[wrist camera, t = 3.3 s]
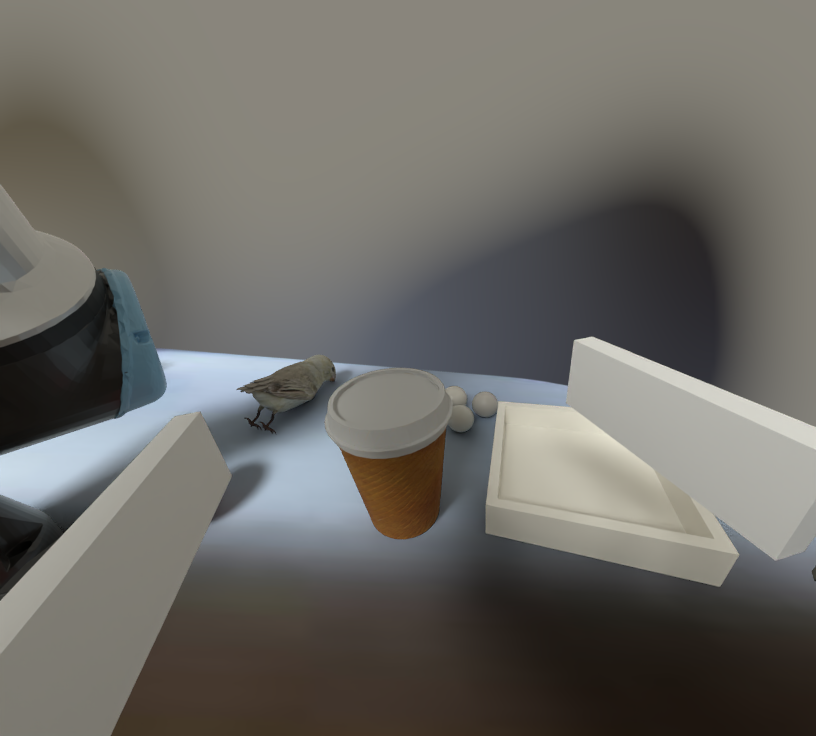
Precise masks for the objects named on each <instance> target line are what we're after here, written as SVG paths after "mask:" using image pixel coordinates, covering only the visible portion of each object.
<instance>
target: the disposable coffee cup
mask: <svg viewBox="0 0 816 736" xmlns="http://www.w3.org/2000/svg"><path fill="white" fill-rule="evenodd" d="M452 409H453V406H452V400H451V398H450V396H449V395H448V393H447V392H446V391H445V388H444V385H443V383H442V382H441V381H440V380H439V379H438V378H437V377H436V376H434V375H433V374H430V373H428V372H425V371H422V370H418V369H413V368H389V369H381V370H376V371H372V372H368V373H365V374H362V375H360V376H357V377H355V378H353V379H351V380H349V381H347V382H346V383H344V384H343V385H341V386H340V387H339V388H337V389H336V390H335V391H334V393H333V394H332V395H331V397H330V399H329V402H328V412H327V414H326V417H325V429H326V431H327V433H328V436H329V437H330V438H331V439H332V440H333V441H334V442H335V443H336V444H337V446H338V447H339V448H340V450H341V451H342V452H341V453H342V454H343V456H344V459H345V461H346V463H347V466H348V468H349V470H350V473H351V474H352V477H353V479H354V481H355V483H356V486H357V488H358V490H359V493H360V495H361V497H362V499H363V502H364V504H365V506H366V508H367V511H368V513H369V515H370V517H371V520H372V522H373V524H374V526H375V527H376V529H377V530H378V531H379V532H381V533H382V534H383V535H385V536H387V537H390V538H394V539H409V538H414V537H416V536H419V535H421V534H423V533H424V532H426V531H427V530H428V529H429V528H430V527H431V526H432V525H433V524H434V523H435V521H436V518H437V516H438V514H439V506H440V496H441V484H442V472H443V460H444V448H445V436H446V427H447V425H448V422H449V420H450V418H451V416H452Z"/></svg>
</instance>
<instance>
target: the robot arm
mask: <svg viewBox="0 0 816 736" xmlns="http://www.w3.org/2000/svg"><path fill="white" fill-rule="evenodd" d="M166 387H167V383H166V378H165V375H164V372H163V368H162V365H161V363H160V360H159V357H158V354H157V351H156V348H155V346H154V343H153V341H152V338H151V336H150V332H149V329H148V327H147V324H146V320H145V318H144V315H143V312H142V309H141V307H140V304H139V302H138V299H137V296H136V294H135V291H134V289H133V286H132V284H131V281H130V279H129V277H128V275H127V274H126V273H124V272H123V271H120V270H109V269H106V268H102V269H99V270H96V269H95V267H94V266H93V264H92V262H91V261H90V260H89V259H88V257H87V256H86V255H85V254H84V253H83V252H82V251H81V250H80V249H79V248H78V247H76V246H74V245H73V244H71V243H70V242H67V241H65V240H63V239H61V238H58V237H55V236H53V235H50V234H47V233H44V232H40V231H37V230H34V229H33V228H32V226H31V225H30V223H29V222H28V221H27V219H26V218H25V217H24V215H23V214H22V213H21V211H20V210H19V209H18V207H17V206H16V204H15V203H14V202H13V200H12V199H11V198H10V196H9V195H8V194H7V192H6V191H5V190H4V188H3V187H2V185H1V184H0V455H3V454H6V453H9V452H12V451H15V450H18V449H22V448H25V447H28V446H31V445H34V444H37V443H40V442H43V441H46V440H49V439H52V438H55V437H58V436H61V435H64V434H67V433H70V432H74V431H77V430H80V429H83V428H86V427H89V426H92V425H95V424H98V423H101V422H104V421H107V420H110V419H113V418H114V419H116V418H120V417H122V416H123V415H124V414H125V413H127V412H129V411H132V410H134V409H137V408H140V407H142V406H145V405H147V404H150V403H152V402H155V401H157V400H158V399H159V398H161V397H162V395H163V394H164V393H165V390H166ZM566 403H567V404H568V405H569V406H571V407H572V408H573V409H575V410H576V411H577V412H579V413H580V414H581V415H583V416H584V417H585V418H587V419H588V420H589V421H591V422H592V423H593V424H595V425H596V426H597V427H599V428H600V429H601V430H603V431H604V432H605V433H606V434H608V435H609V436H610V437H612V438H613V439H614V440H616V441H617V442H618V443H620V444H621V445H622V446H624V447H625V448H626V449H628V450H629V451H630V452H632V453H633V454H634V455H636V456H637V457H638V458H640V459H641V460H642V461H644V462H645V463H646V464H648V465H649V466H650V467H652V468H653V469H654V470H656V471H657V472H658V473H660V474H661V475H662V476H664V477H665V478H666V479H668V480H669V481H670V482H672V483H673V484H674V485H676V486H677V487H678V488H680V489H681V490H682V491H684V492H685V493H686V494H687V495H689V496H690V497H691V498H693V499H694V500H695V501H697V502H698V503H699V504H701V505H702V506H703V507H705V508H706V509H707V510H709V511H710V512H711V513H713V514H714V515H715V516H717V517H718V518H719V519H721V520H722V521H723V522H725V523H726V524H727V525H729V526H730V527H731V528H733V529H734V530H735V531H737V532H738V533H739V534H741V535H742V536H743V537H745V538H746V539H747V540H749V541H750V542H751V543H753V544H754V545H755V546H757V547H758V548H759V549H761V550H762V551H763V552H765V553H766V554H767V555H769V556H770V557H771V558H772V559H774V560H775V561H776V560H779V559H782V558H785V557H788V556H791V555H795V554H798V553H801V552H804V551H805V550H806V549H807V547H808V546H809V544H810V543H811V541H812V540H813V539H814V537H815V536H816V427H814V426H811V425H809V424H806V423H804V422H801V421H799V420H797V419H794V418H792V417H789V416H787V415H784V414H782V413H779V412H777V411H774V410H772V409H769V408H767V407H764V406H762V405H760V404H757V403H755V402H752V401H749V400H747V399H745V398H742V397H740V396H737V395H735V394H732V393H730V392H727V391H725V390H722V389H720V388H717V387H715V386H713V385H710V384H708V383H705V382H703V381H700V380H698V379H695V378H693V377H690V376H688V375H685V374H683V373H681V372H678V371H676V370H673V369H671V368H668V367H665V366H663V365H661V364H658V363H656V362H653V361H650V360H649V359H646V358H643V357H641V356H638V355H636V354H633V353H631V352H629V351H626V350H624V349H621V348H619V347H616V346H614V345H611V344H609V343H607V342H603V341H601V340H599V339H596V338H594V337H589V338H584V339H578V340H574V346H573V353H572V361H571V369H570V376H569V384H568V391H567V399H566ZM231 478H232V475H231V473H230V471H229V469H228V467H227V465H226V463H225V461H224V459H223V457H222V455H221V453H220V451H219V448H218V446H217V444H216V442H215V440H214V438H213V436H212V434H211V432H210V430H209V428H208V426H207V424H206V422H205V420H204V418H203V416H202V414H201V412H195V413H190V414H185V415H180V416H175V417H174V418H173V419H172V420H171V421H170V422H169V423H168V424H167V425H166V426H165V427H164V428H163V429H162V430H161V431H160V432H159V433H158V434H157V436H156V437H155V438H154V439H153V440H152V441H151V442H150V443H149V444H148V445H147V446H146V447H145V448H144V449H143V450H142V451H141V452H140V454H139V455H138V456H137V457H136V458H135V459H134V460H133V461H132V462H131V463H130V464H129V465H128V466H127V467H126V468H125V469H124V470H123V471H122V473H121V474H120V475H119V476H118V477H117V478H116V479H115V480H114V481H113V482H112V483H111V484H110V485H109V486H108V487H107V488H106V489H105V491H104V492H103V493H102V494H101V495H100V496H99V497H98V498H97V499H96V500H95V501H94V502H93V503H92V504H91V505H90V506H89V507H88V509H87V510H86V511H85V512H84V513H83V514H82V515H81V516H80V517H79V518H78V519H77V520H76V521H75V522H74V523H73V524H72V525H71V527H70V528H69V529H68V530H67V531H66V532H65V533H64V534H63V532H62V530H61V529H60V528H59V526H58V525H57V524H56V523H55V522H54V521H53V520H52V519H51V518H50V517H49V516H48V515H47V514H46V513H44V512H43V511H41V510H38V509H36V508H33V507H31V506H28V505H26V504H23V503H20V502H18V501H15V500H13V499H10V498H8V497H5V496H3V495H0V736H110V735H111V733H112V731H113V729H114V727H115V725H116V723H117V720H118V718H119V716H120V714H121V712H122V710H123V708H124V706H125V703H126V701H127V699H128V697H129V695H130V693H131V691H132V689H133V686H134V684H135V682H136V680H137V678H138V676H139V674H140V671H141V669H142V667H143V665H144V663H145V661H146V659H147V657H148V654H149V652H150V650H151V648H152V646H153V644H154V642H155V640H156V637H157V635H158V633H159V631H160V629H161V627H162V625H163V622H164V620H165V618H166V616H167V614H168V612H169V610H170V608H171V605H172V603H173V601H174V599H175V597H176V595H177V593H178V590H179V588H180V586H181V584H182V582H183V580H184V578H185V576H186V573H187V571H188V569H189V567H190V565H191V563H192V561H193V559H194V556H195V554H196V552H197V550H198V548H199V546H200V544H201V541H202V539H203V537H204V535H205V533H206V531H207V529H208V527H209V524H210V522H211V520H212V518H213V516H214V514H215V512H216V510H217V507H218V505H219V503H220V501H221V499H222V497H223V495H224V492H225V490H226V488H227V486H228V484H229V482H230V480H231ZM812 574H813V578H814V581H816V566H815V568H814V569H813V570H812Z"/></svg>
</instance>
